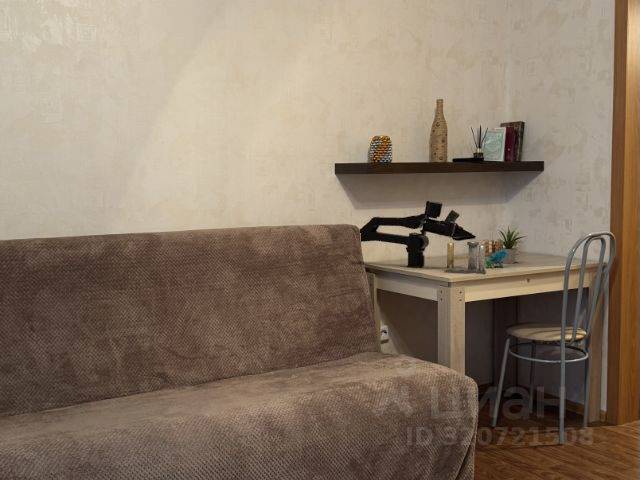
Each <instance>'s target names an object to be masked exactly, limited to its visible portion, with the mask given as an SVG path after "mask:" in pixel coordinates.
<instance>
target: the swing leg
mask: <svg viewBox="0 0 640 480" xmlns="http://www.w3.org/2000/svg"><path fill="white" fill-rule="evenodd" d="M446 250H447V251H446V252H447V254H446V256H447V258H446V260H447V261H446V268H450V269H455V268H454V264H455V263H454V262H455V261H457V260H459V261H460V260H468V259H469V258H470V257H471V256H468V255H461V256H455V254H454V253H455V243H454V242H447V249H446Z"/></svg>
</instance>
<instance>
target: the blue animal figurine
mask: <svg viewBox="0 0 640 480" xmlns="http://www.w3.org/2000/svg"><path fill="white" fill-rule="evenodd" d="M506 254H507V253H506V251H505V250H503V251H502V250H501V249H500V250H499V251H495V252H494V254H491V255H490V256H489V257H488V258H485V265H486V266H487V267H490V266H491V268H492V269H495V266H494V265H499V266H500V268H504V265H503V259H502V258H505V257H506V256H505V255H506Z"/></svg>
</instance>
